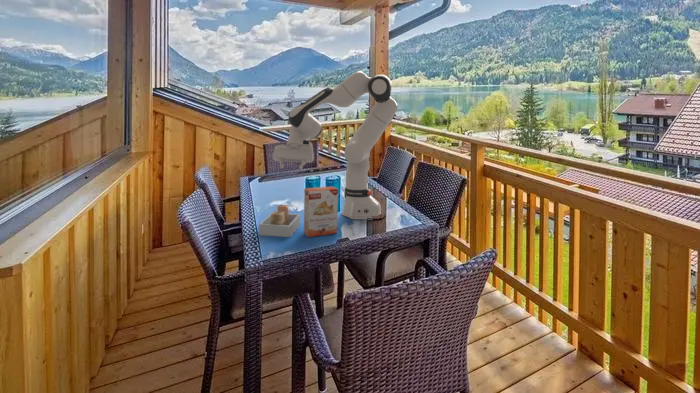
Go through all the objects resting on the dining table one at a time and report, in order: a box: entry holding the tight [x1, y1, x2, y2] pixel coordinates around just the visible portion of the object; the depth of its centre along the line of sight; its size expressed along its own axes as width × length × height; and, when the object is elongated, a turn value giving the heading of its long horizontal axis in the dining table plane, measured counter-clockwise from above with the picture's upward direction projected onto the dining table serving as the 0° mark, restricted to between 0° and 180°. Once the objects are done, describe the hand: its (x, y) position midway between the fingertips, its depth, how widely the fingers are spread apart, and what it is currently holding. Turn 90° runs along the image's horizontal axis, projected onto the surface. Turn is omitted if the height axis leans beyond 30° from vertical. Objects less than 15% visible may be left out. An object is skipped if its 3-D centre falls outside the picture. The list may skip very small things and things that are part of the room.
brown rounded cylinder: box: [277, 204, 290, 225], centre depth 187 cm, size 5×5×9 cm
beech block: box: [270, 210, 285, 225], centre depth 179 cm, size 5×5×8 cm
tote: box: [258, 212, 301, 238], centre depth 184 cm, size 14×18×5 cm
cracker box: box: [303, 186, 339, 238], centre depth 178 cm, size 14×6×21 cm, turn 117°
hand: (290, 167), depth 196 cm, fingers open, 8 cm apart
